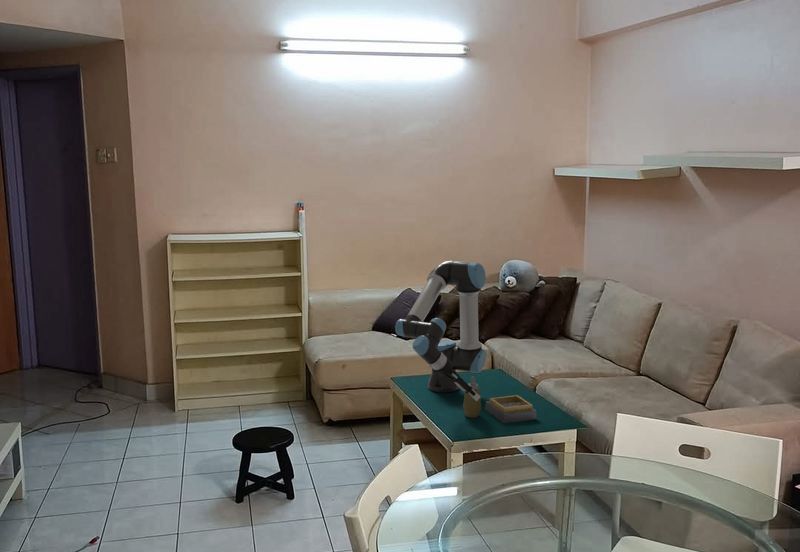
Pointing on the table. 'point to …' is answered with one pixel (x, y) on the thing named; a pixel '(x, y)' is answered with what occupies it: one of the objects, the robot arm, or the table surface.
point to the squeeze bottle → (472, 401)
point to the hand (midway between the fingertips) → (471, 394)
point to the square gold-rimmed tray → (510, 409)
